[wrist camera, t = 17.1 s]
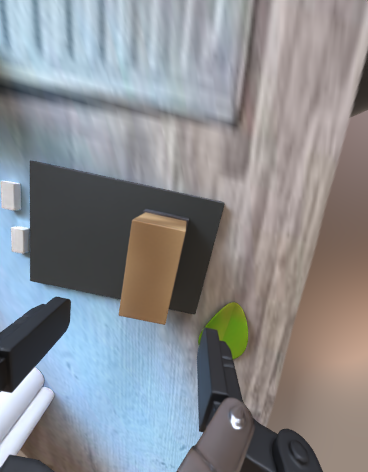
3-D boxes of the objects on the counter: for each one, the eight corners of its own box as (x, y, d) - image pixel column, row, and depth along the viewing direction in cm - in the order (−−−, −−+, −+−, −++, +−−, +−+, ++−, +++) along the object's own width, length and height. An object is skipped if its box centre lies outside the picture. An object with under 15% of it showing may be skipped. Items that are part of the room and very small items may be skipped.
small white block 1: (0, 180, 21) (8, 180, 22) (1, 208, 22) (9, 207, 23) (13, 183, 21) (21, 183, 22) (14, 210, 22) (21, 209, 23)
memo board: (223, 202, 22) (225, 202, 21) (194, 309, 26) (195, 314, 25) (38, 161, 21) (29, 160, 20) (37, 276, 25) (30, 281, 24)
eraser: (189, 218, 21) (188, 229, 15) (172, 293, 24) (166, 327, 18) (146, 208, 21) (129, 216, 15) (134, 285, 24) (116, 317, 18)
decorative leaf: (184, 330, 27) (183, 335, 26) (233, 297, 25) (234, 301, 24) (217, 365, 28) (218, 371, 27) (268, 337, 26) (270, 342, 25)
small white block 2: (10, 227, 22) (18, 225, 23) (11, 251, 23) (18, 249, 24) (23, 229, 23) (29, 228, 23) (23, 254, 23) (29, 251, 24)
